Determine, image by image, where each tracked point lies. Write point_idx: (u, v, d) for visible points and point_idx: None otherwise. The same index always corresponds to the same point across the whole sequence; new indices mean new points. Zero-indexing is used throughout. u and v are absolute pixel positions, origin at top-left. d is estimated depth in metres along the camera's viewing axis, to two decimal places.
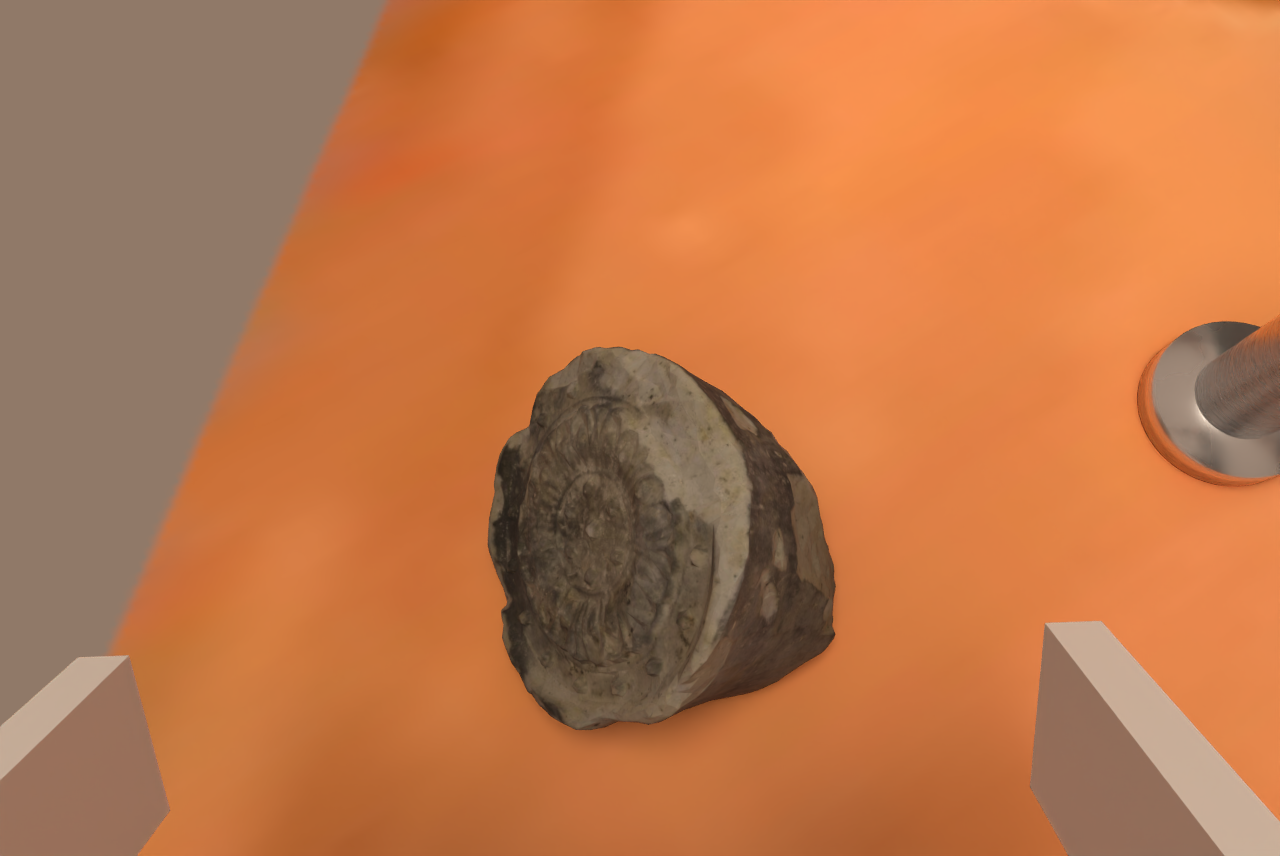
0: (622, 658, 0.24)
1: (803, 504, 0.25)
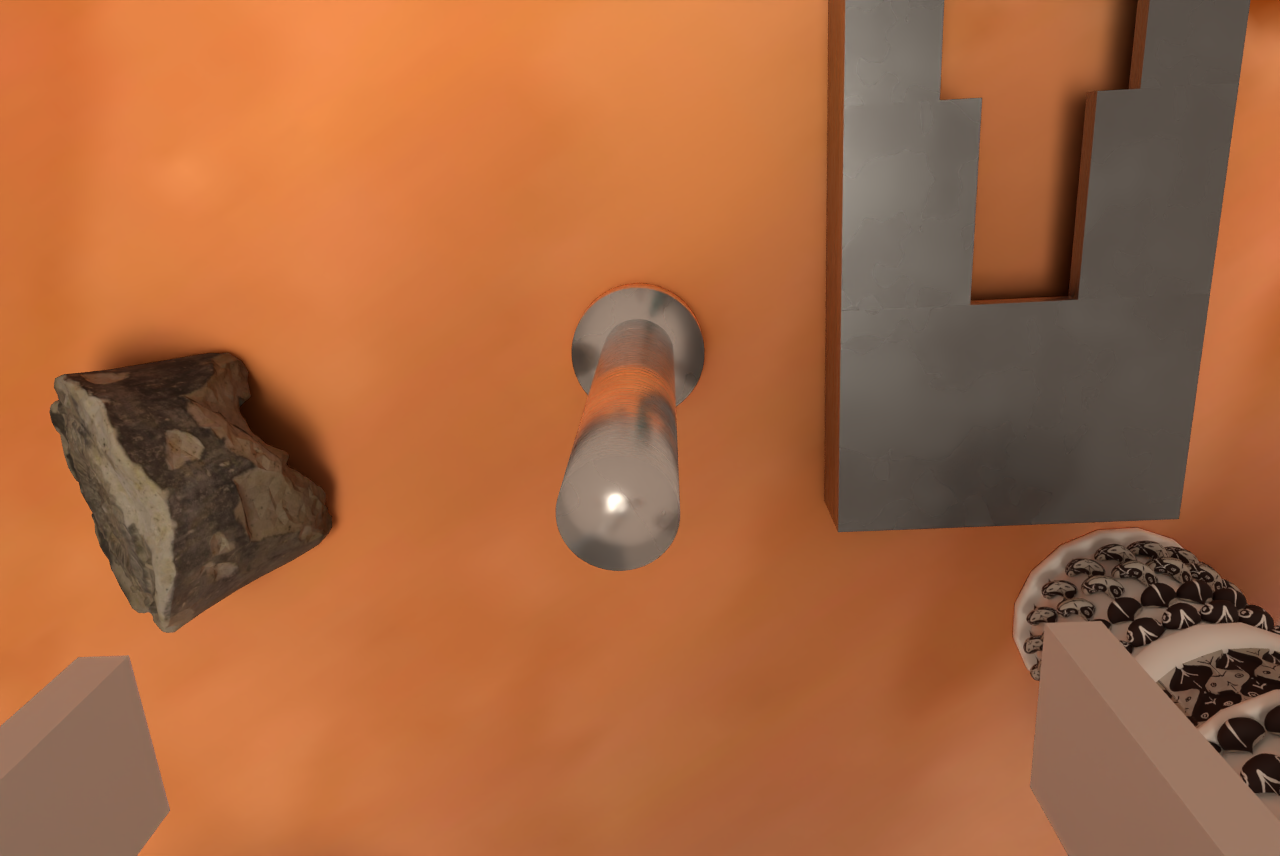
0: (142, 591, 0.35)
1: (261, 483, 0.34)
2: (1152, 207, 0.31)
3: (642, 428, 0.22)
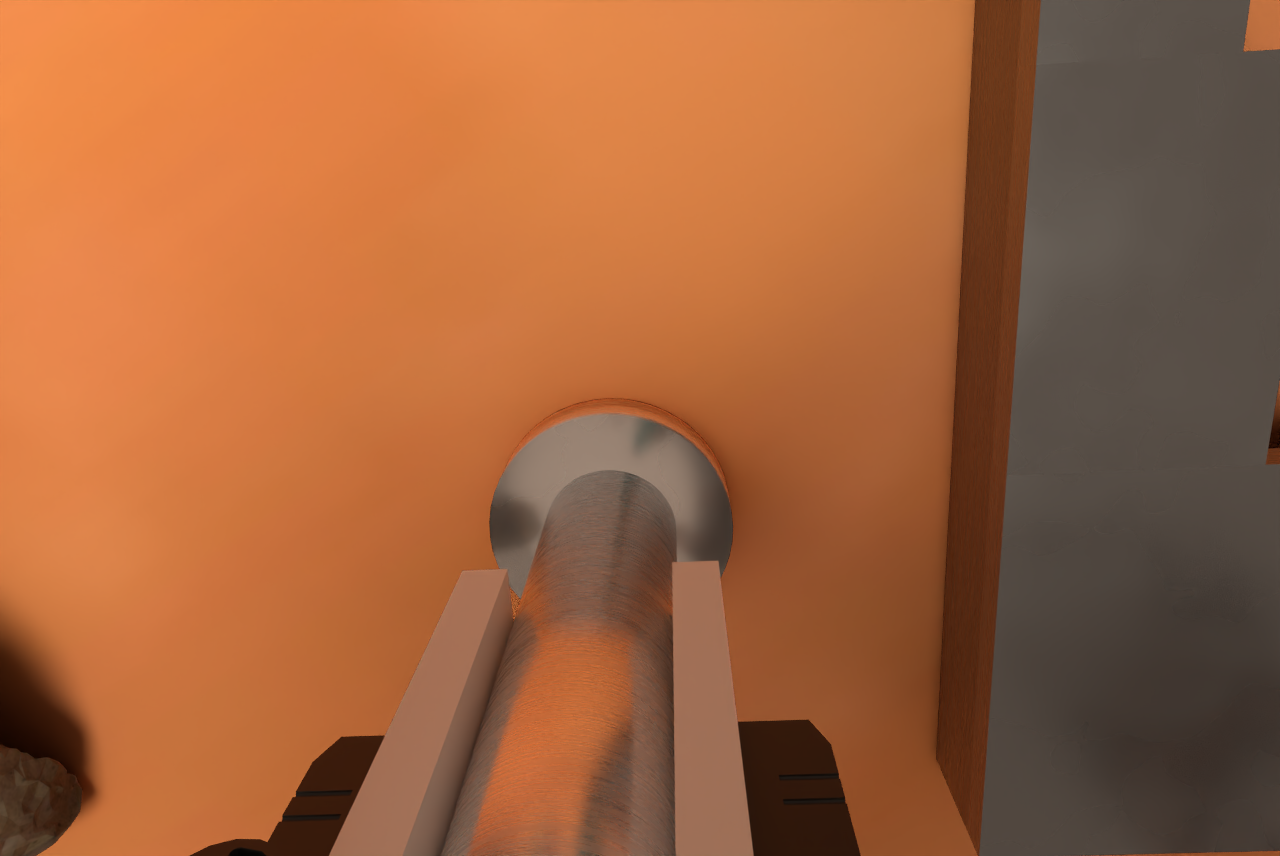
0: None
1: None
2: None
3: None
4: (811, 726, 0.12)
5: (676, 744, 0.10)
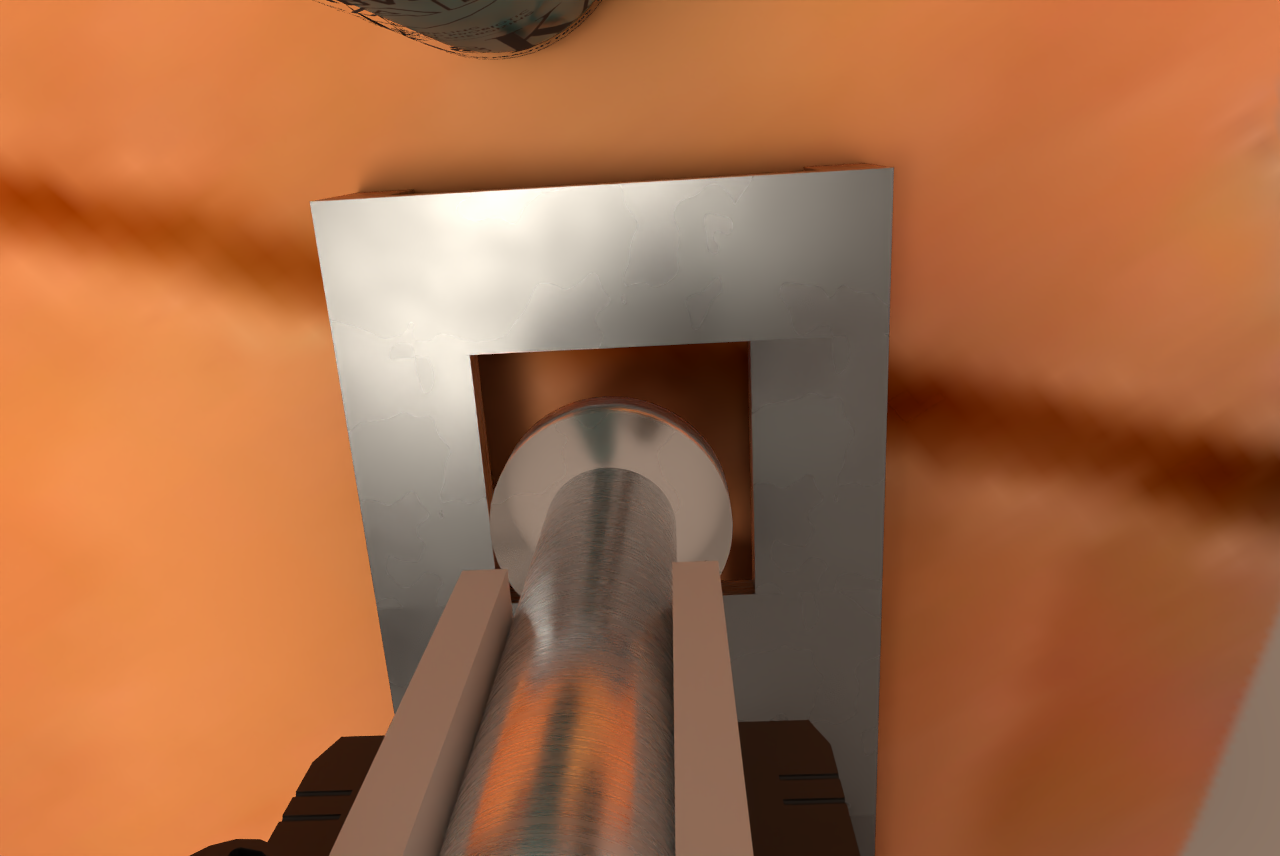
0: None
1: None
2: None
3: None
4: (810, 726, 0.12)
5: (676, 744, 0.10)
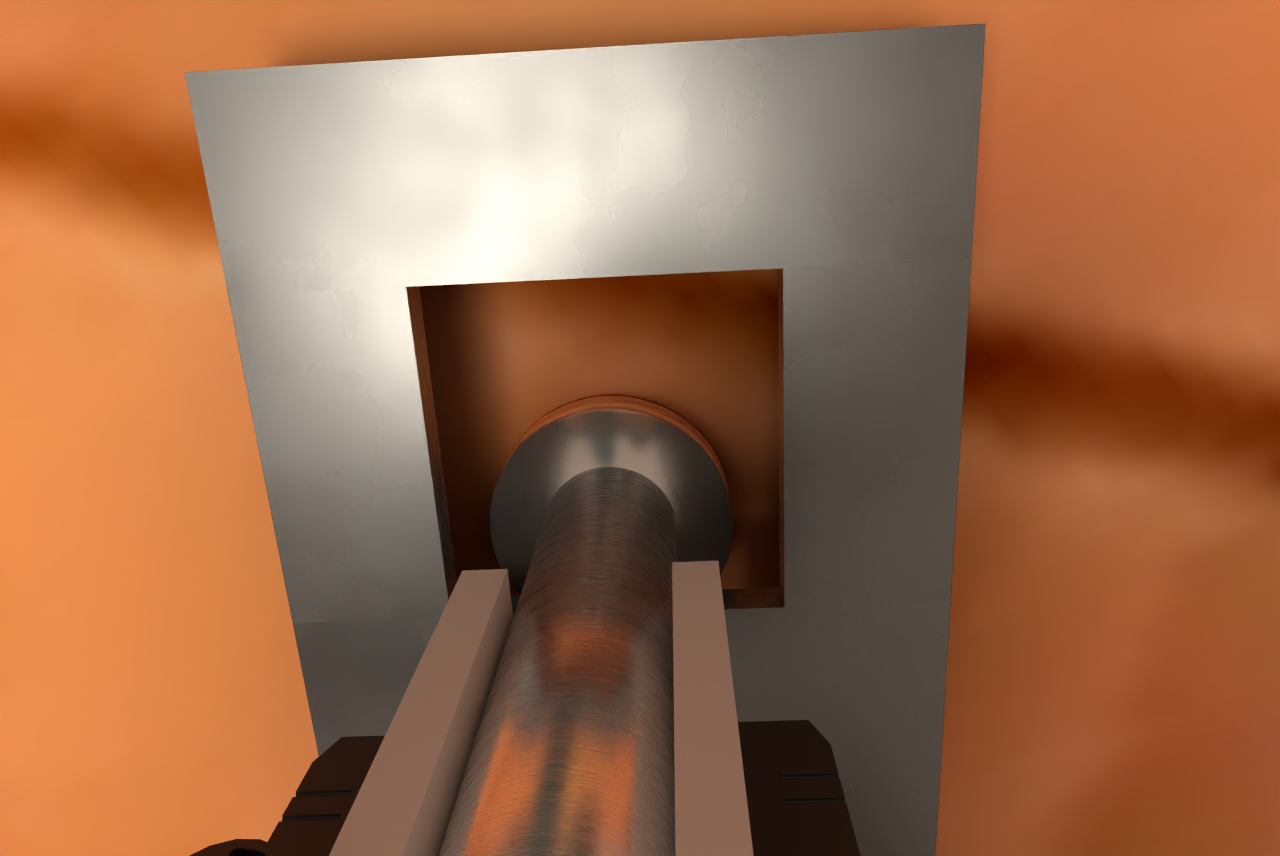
0: None
1: None
2: None
3: None
4: (811, 726, 0.12)
5: (676, 744, 0.10)
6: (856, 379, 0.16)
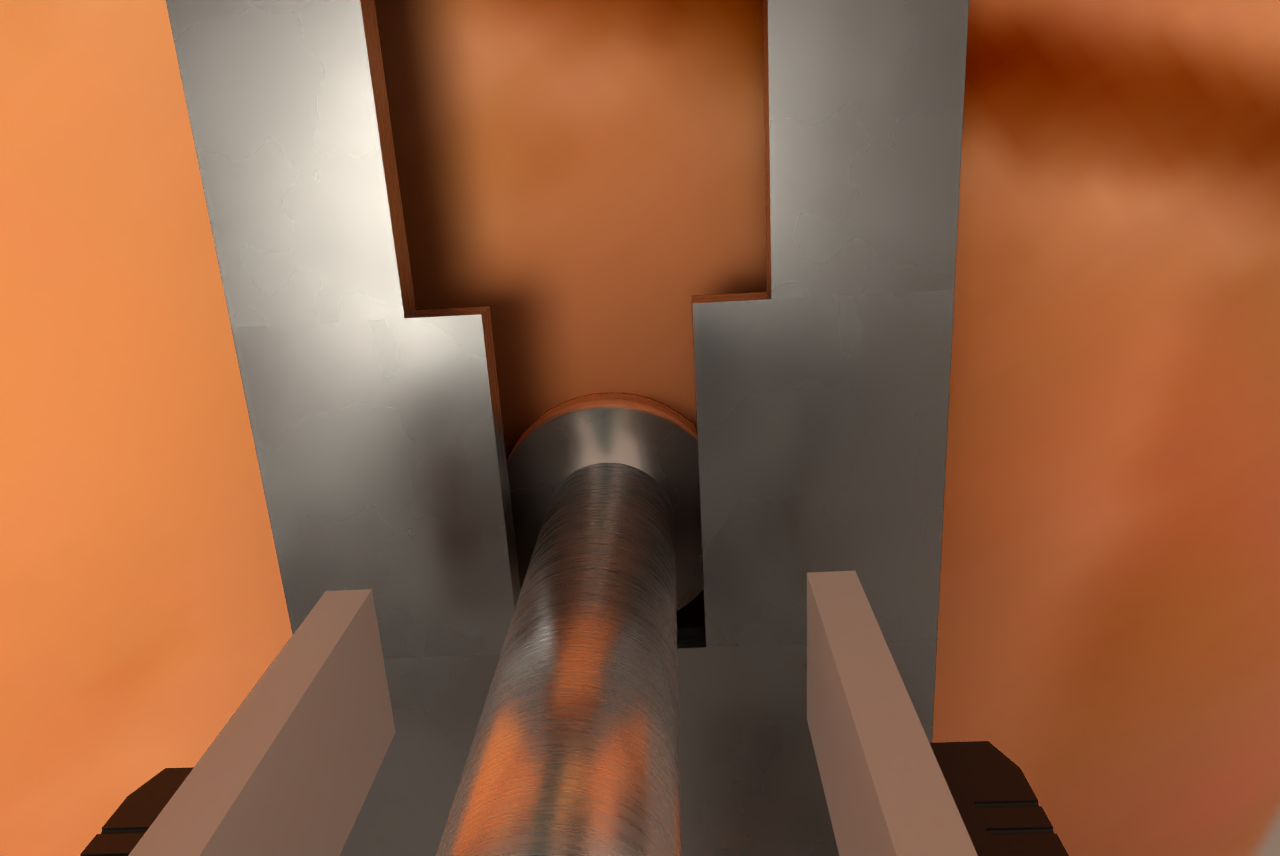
0: None
1: None
2: (818, 501, 0.17)
3: None
4: (992, 748, 0.11)
5: (872, 770, 0.10)
6: (848, 14, 0.15)
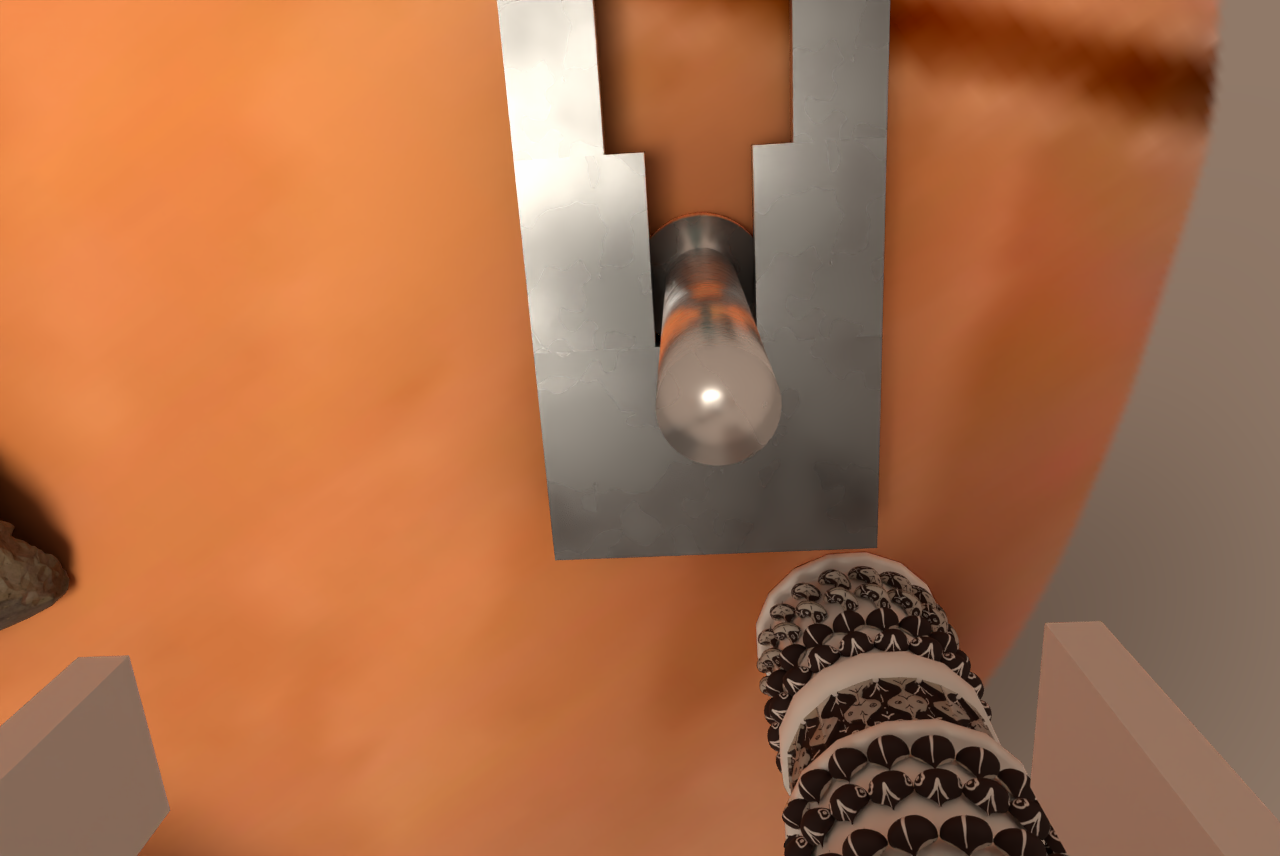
0: None
1: None
2: (817, 254, 0.33)
3: (736, 326, 0.22)
4: None
5: None
6: None
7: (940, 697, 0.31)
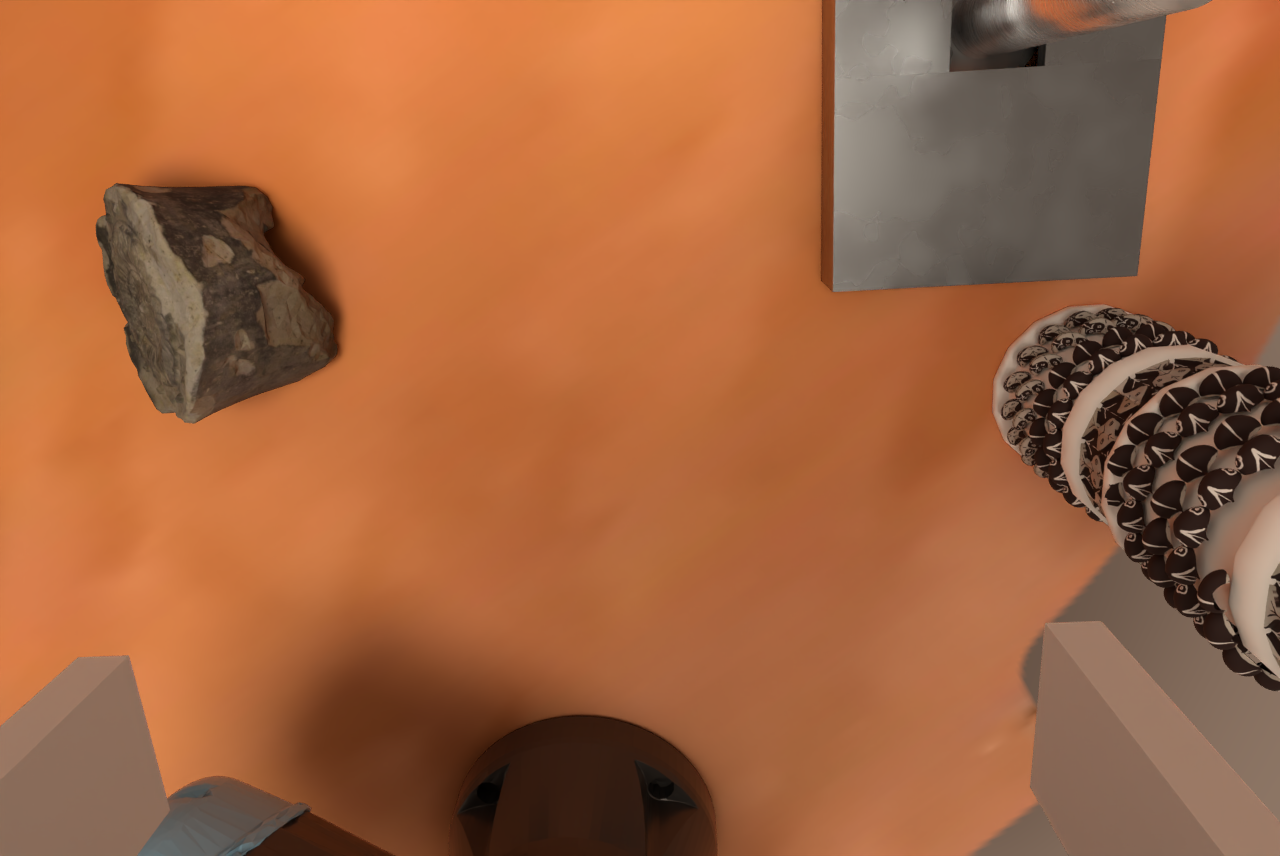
0: (169, 386, 0.40)
1: (280, 296, 0.39)
2: None
3: None
4: None
5: None
6: None
7: None
